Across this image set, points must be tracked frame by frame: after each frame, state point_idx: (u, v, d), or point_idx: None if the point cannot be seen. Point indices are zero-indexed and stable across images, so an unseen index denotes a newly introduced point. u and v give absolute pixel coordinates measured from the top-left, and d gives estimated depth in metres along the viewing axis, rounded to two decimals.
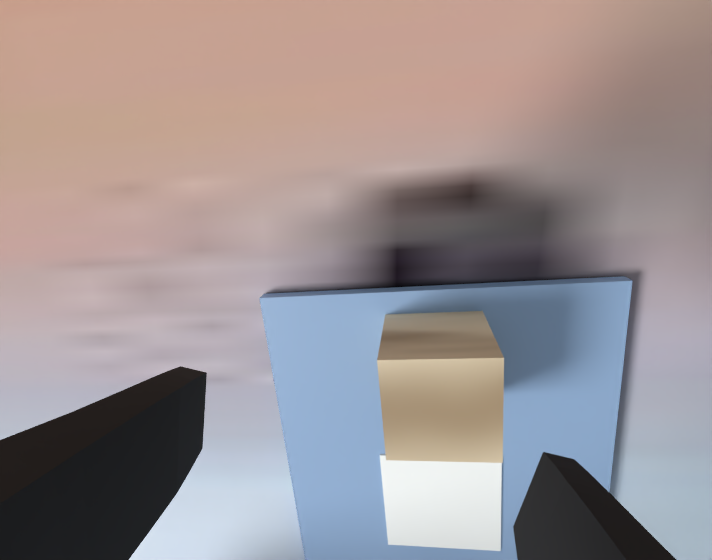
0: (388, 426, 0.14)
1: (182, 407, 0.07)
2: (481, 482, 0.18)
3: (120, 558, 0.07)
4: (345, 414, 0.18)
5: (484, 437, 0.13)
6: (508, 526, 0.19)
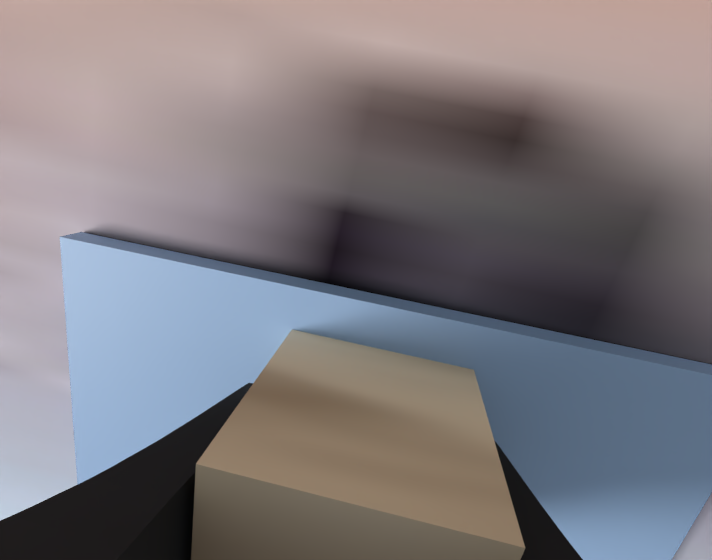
0: None
1: None
2: None
3: None
4: None
5: None
6: None
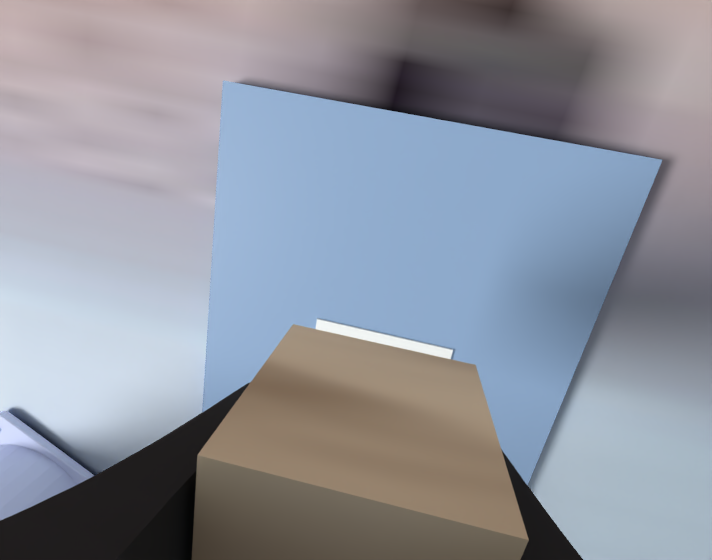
0: None
1: None
2: None
3: None
4: (290, 260, 0.15)
5: None
6: None
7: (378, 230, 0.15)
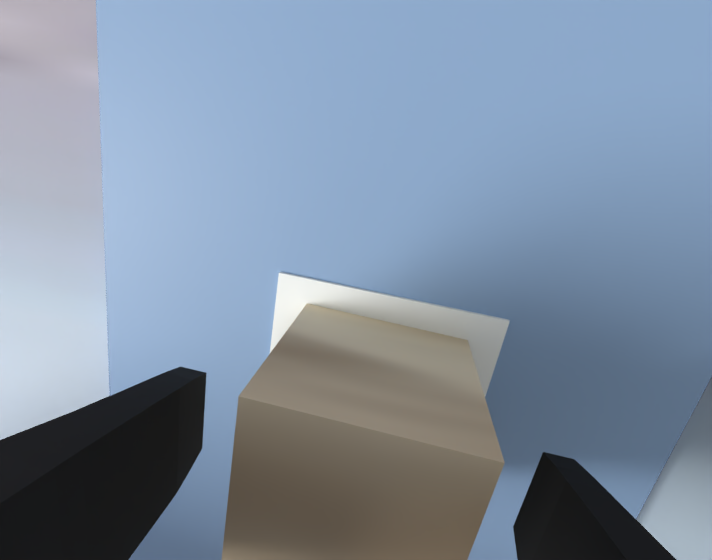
0: (236, 524, 0.07)
1: (182, 407, 0.07)
2: None
3: (120, 558, 0.07)
4: (230, 169, 0.09)
5: None
6: None
7: (380, 107, 0.08)
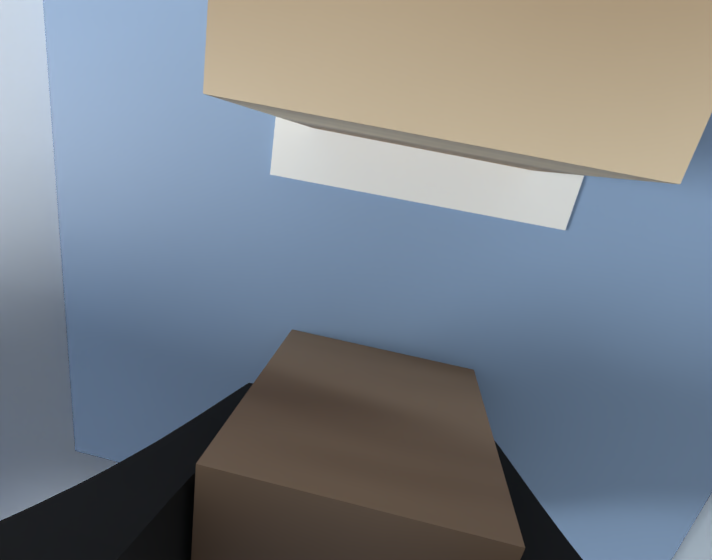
0: None
1: None
2: None
3: None
4: None
5: (656, 24, 0.03)
6: None
7: None
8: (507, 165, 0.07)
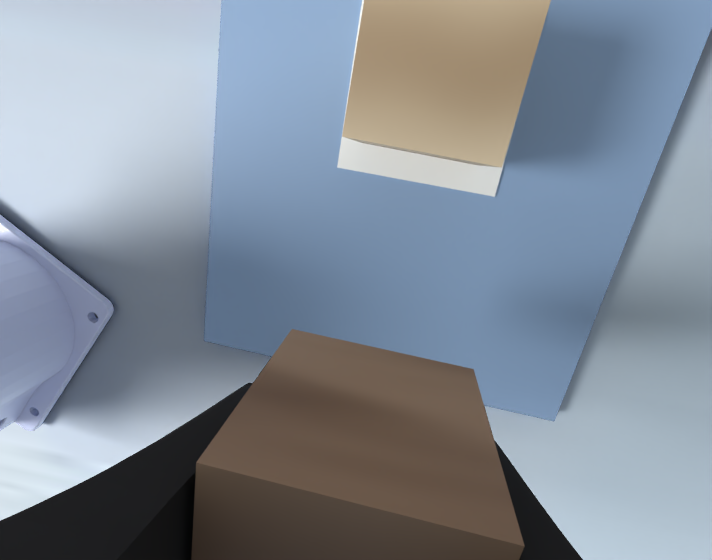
0: (359, 75, 0.09)
1: None
2: None
3: None
4: None
5: (489, 118, 0.09)
6: (517, 154, 0.13)
7: None
8: (463, 162, 0.13)
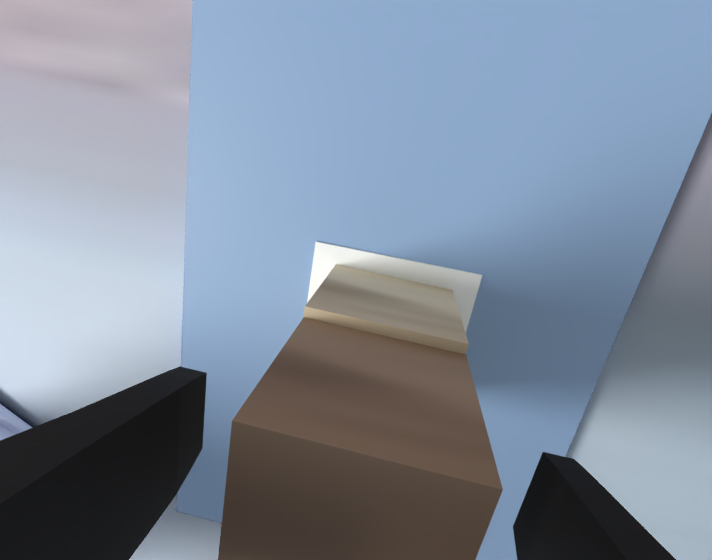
0: None
1: (182, 407, 0.07)
2: None
3: (120, 558, 0.07)
4: (282, 166, 0.13)
5: None
6: None
7: (390, 123, 0.12)
8: None
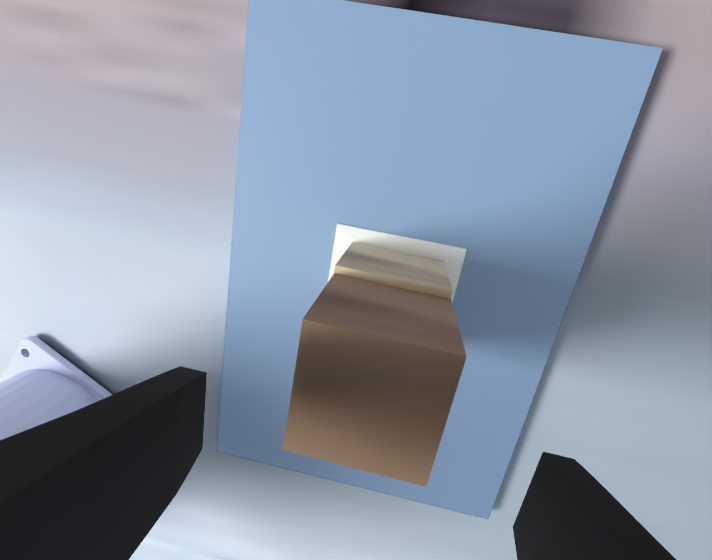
0: None
1: (182, 407, 0.07)
2: None
3: (120, 558, 0.07)
4: (312, 165, 0.16)
5: None
6: None
7: (395, 131, 0.15)
8: None
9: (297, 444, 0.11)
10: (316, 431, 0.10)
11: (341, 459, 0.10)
